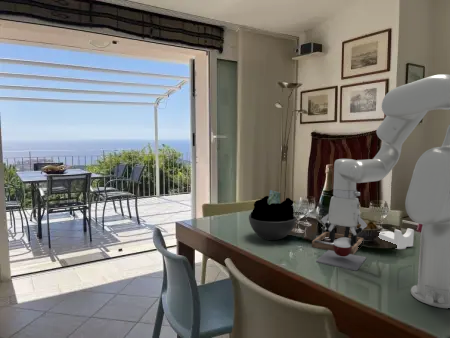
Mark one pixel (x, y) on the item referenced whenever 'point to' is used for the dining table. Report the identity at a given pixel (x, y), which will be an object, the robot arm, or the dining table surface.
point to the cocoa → (343, 244)
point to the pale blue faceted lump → (274, 197)
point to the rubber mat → (342, 260)
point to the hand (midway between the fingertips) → (342, 242)
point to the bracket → (398, 238)
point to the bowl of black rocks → (272, 218)
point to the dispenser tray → (329, 246)
